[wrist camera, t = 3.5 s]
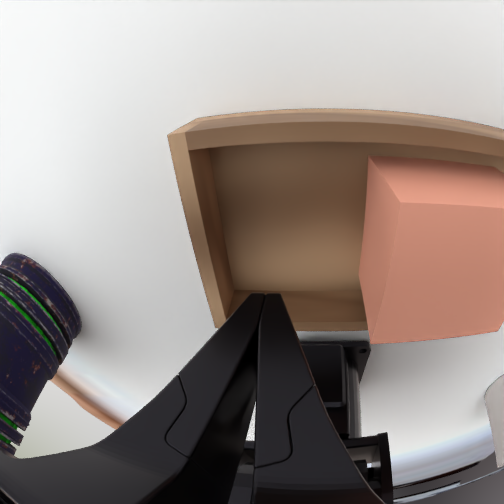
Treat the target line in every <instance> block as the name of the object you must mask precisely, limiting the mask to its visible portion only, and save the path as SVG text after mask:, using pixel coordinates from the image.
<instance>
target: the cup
mask: <svg viewBox="0 0 504 504" xmlns="http://www.w3.org/2000/svg"><path fill="white" fill-rule="evenodd" d="M485 404H486V408H487V412H488V416H489V421H490V426H491V430H492V436H493V441H494V447H495V453H496V460H497V467H502V466H504V375H502V376H501V377H499V378H498V379H497V380H496V381H495V382H494V383H493V384H492V385H491V386H490V387H489V388H488V390H487V391H486V395H485Z"/></svg>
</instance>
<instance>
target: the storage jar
mask: <svg viewBox="0 0 504 504" xmlns="http://www.w3.org/2000/svg"><path fill="white" fill-rule="evenodd" d="M80 330H81V319H80V316H79V313H78V311H77V309H76V307H75V305H74V303H73V302H72V300H71V298H70V297H69V295H68V294H67V293H66V291H65V290H64V289H63V288H62V286H61V285H60V284H59V283H58V282H57V281H56V280H55V279H54V277H53V276H52V275H51V274H50V273H48V272H47V271H46V270H45V269H44V268H43V267H42V266H40V265H39V264H38V263H36V262H35V261H34V260H32V259H30V258H29V257H27V256H25V255H22V254H18V253H11V254H9V255H8V256H7V257H6V258H5V259H4V260H3V261H2V264H1V265H0V447H1V448H2V449H4V450H6V451H7V452H9V453H10V454H12V455H14V454H15V451H16V449H15V447H13V446H12V445H11V444H10V443H11V441H12V442H13V443H15V444H16V445H18V446H20V443H21V441H22V438H23V437H24V436H23V435H21V434H20V433H19V432H18V431H17V427H19V428H20V429H22V430H23V431H25V430H26V428H27V426H29V422H30V420H31V414H30V412H31V411H32V408H33V407H34V405H35V403H36V401H37V399H38V397H39V395H40V393H41V391H42V389H43V388H44V386H45V384H46V382H47V380H50V379H52V378H53V376H54V375H55V374H56V372H57V369H58V368H59V365H61V364H62V363H63V361H64V359H65V357H66V356H67V354H68V349H69V348H70V346H71V345H72V341H73V339H74V338H76V336H77V335H78V334H79V332H80Z"/></svg>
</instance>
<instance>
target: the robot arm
mask: <svg viewBox="0 0 504 504" xmlns="http://www.w3.org/2000/svg"><path fill="white" fill-rule="evenodd" d="M370 351H371V349H370V343H369V342H367V341H353V342H299V339H298V336H297V334H296V331H295V328H294V326H293V323H292V321H291V318H290V315H289V313H288V310H287V308H286V305H285V302H284V300H283V297H282V295H281V293H267V294H265V293H263V292H252V293H250V294H249V296H248V297H247V298H246V299H245V300H244V301H243V302H242V303H241V305H240V306H239V307H238V308H237V309H236V310H235V311H234V312H233V314H232V315H231V316H230V317H229V318H228V319H227V320H226V321H225V323H224V324H223V325H222V326H221V327H220V328H219V329H218V330H217V331H216V333H215V334H214V335H213V336H212V337H211V338H210V339H209V340H208V341H207V343H206V344H205V345H204V346H203V347H202V348H201V349H200V350H199V351H198V352H197V353H196V355H195V356H194V357H193V358H192V359H191V360H190V361H189V362H188V363H187V364H186V365H185V367H184V368H183V369H182V370H181V371H180V372H179V375H176V376H175V377H174V378H173V379H172V380H171V382H170V383H169V384H168V385H167V386H166V387H165V388H164V389H163V390H162V391H161V392H160V393H159V394H158V395H157V396H156V397H155V398H154V399H152V400H151V401H150V402H149V403H148V404H147V405H146V406H144V407H143V408H142V409H141V410H140V411H139V412H137V413H136V414H135V415H134V416H133V417H131V418H130V419H129V420H128V421H126V422H125V423H124V424H123V425H122V426H120V427H119V428H118V429H117V430H115V431H114V432H113V433H112V434H110V435H109V436H108V437H106V438H105V439H103V440H102V441H100V442H98V443H96V444H94V445H92V446H89V447H85V448H81V449H77V450H72V451H67V452H62V453H58V454H52V455H46V456H40V457H34V458H25V459H19V458H17V457H15V456H14V455H12V454H10V453H9V452H7V451H6V450H4V449H2V448H1V447H0V504H393V484H392V471H391V460H390V451H389V442H388V434H387V432H385V433H379V434H377V435H375V436H368V437H361V410H360V391H359V383H360V381H361V378H362V375H363V372H364V369H365V366H366V363H367V360H368V357H369V354H370ZM255 401H256V415H255V441H246V437H247V433H248V429H249V425H250V421H251V417H252V413H253V409H254V405H255ZM367 463H372V467H371V468H367Z"/></svg>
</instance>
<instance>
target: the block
mask: <svg viewBox="0 0 504 504" xmlns="http://www.w3.org/2000/svg"><path fill="white" fill-rule="evenodd" d="M358 275H359V280H360V285H361V290H362V295H363V301H364V306H365V312H366V318H367V324H368V331H369V338H370V344H383V343H400V342H413V341H425V340H435V339H445V338H453V337H462V336H469V335H476V334H483V333H490V332H496V331H498V330H499V328H500V327H501V325H502V323H503V321H504V174H503V173H502V172H501V171H499V170H498V169H497V168H495V167H490V166H484V165H477V164H469V163H462V162H453V161H444V160H434V159H422V158H409V157H392V156H369V155H368V177H367V194H366V208H365V220H364V231H363V241H362V250H361V258H360V266H359V273H358Z"/></svg>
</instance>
